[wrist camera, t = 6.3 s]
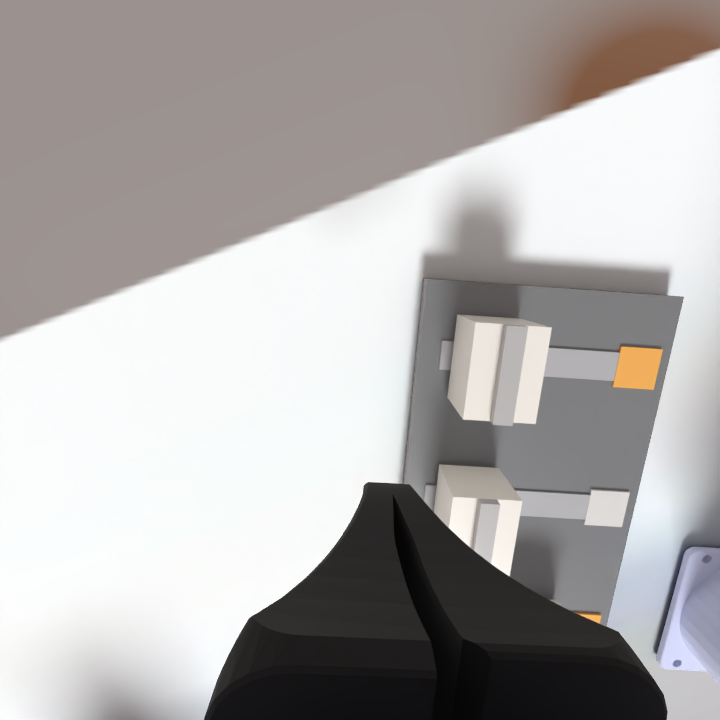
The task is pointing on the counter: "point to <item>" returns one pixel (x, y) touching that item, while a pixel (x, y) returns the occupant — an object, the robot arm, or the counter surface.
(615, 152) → the counter surface
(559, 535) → the switch panel
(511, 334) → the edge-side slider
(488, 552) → the middle slider
